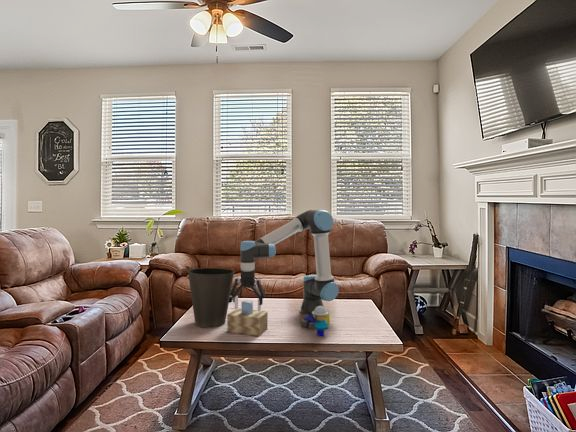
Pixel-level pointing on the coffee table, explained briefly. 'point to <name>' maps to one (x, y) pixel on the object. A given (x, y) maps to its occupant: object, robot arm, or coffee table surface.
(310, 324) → the toy
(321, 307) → the toy
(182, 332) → the coffee table surface
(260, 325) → the box
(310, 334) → the coffee table surface
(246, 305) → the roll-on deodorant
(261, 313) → the lid
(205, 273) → the waste basket
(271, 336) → the coffee table surface
